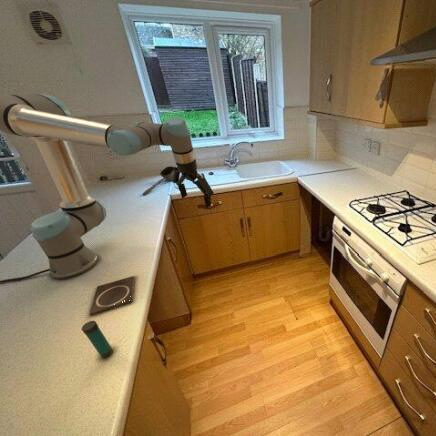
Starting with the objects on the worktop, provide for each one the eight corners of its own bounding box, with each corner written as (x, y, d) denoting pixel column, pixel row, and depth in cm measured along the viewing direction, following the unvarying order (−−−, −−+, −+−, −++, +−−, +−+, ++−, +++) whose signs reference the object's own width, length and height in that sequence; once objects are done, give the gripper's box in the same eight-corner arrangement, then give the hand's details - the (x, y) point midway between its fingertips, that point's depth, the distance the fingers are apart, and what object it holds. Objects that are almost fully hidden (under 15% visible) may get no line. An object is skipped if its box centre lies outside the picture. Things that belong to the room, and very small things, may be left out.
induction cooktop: (90, 315, 79) (89, 313, 78) (98, 288, 90) (97, 286, 89) (132, 302, 83) (131, 300, 83) (135, 277, 94) (134, 275, 94)
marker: (99, 360, 65) (80, 332, 60) (101, 351, 68) (82, 323, 62) (112, 355, 67) (94, 327, 61) (114, 346, 69) (96, 318, 63)
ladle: (181, 174, 200) (175, 164, 193) (158, 204, 173) (150, 193, 166) (169, 175, 202) (162, 165, 196) (144, 205, 175) (136, 194, 168)
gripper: (217, 164, 93) (224, 205, 108) (168, 147, 100) (181, 188, 114) (204, 173, 88) (213, 215, 103) (153, 155, 95) (169, 197, 109)
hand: (196, 201), depth 109 cm, fingers open, 13 cm apart
